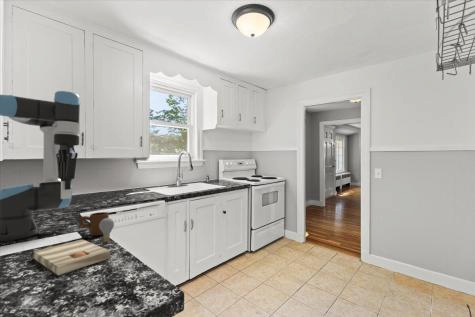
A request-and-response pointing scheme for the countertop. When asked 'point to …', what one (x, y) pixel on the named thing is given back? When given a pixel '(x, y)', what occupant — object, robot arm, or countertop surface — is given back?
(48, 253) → the wooden board with hole
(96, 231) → the mug
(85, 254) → the ball
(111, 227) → the light bulb
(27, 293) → the countertop surface
